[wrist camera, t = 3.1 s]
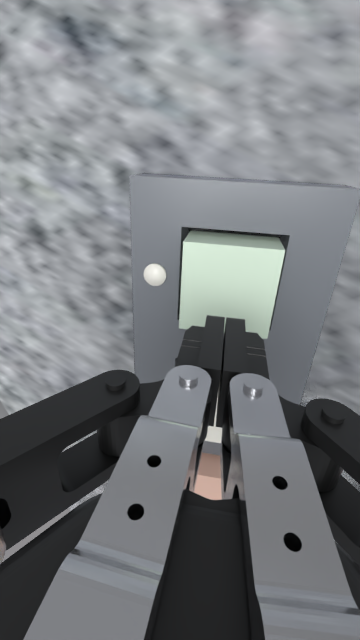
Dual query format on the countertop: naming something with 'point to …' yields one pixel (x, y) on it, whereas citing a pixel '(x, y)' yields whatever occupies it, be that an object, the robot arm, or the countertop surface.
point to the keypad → (247, 216)
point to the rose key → (209, 477)
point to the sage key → (230, 279)
